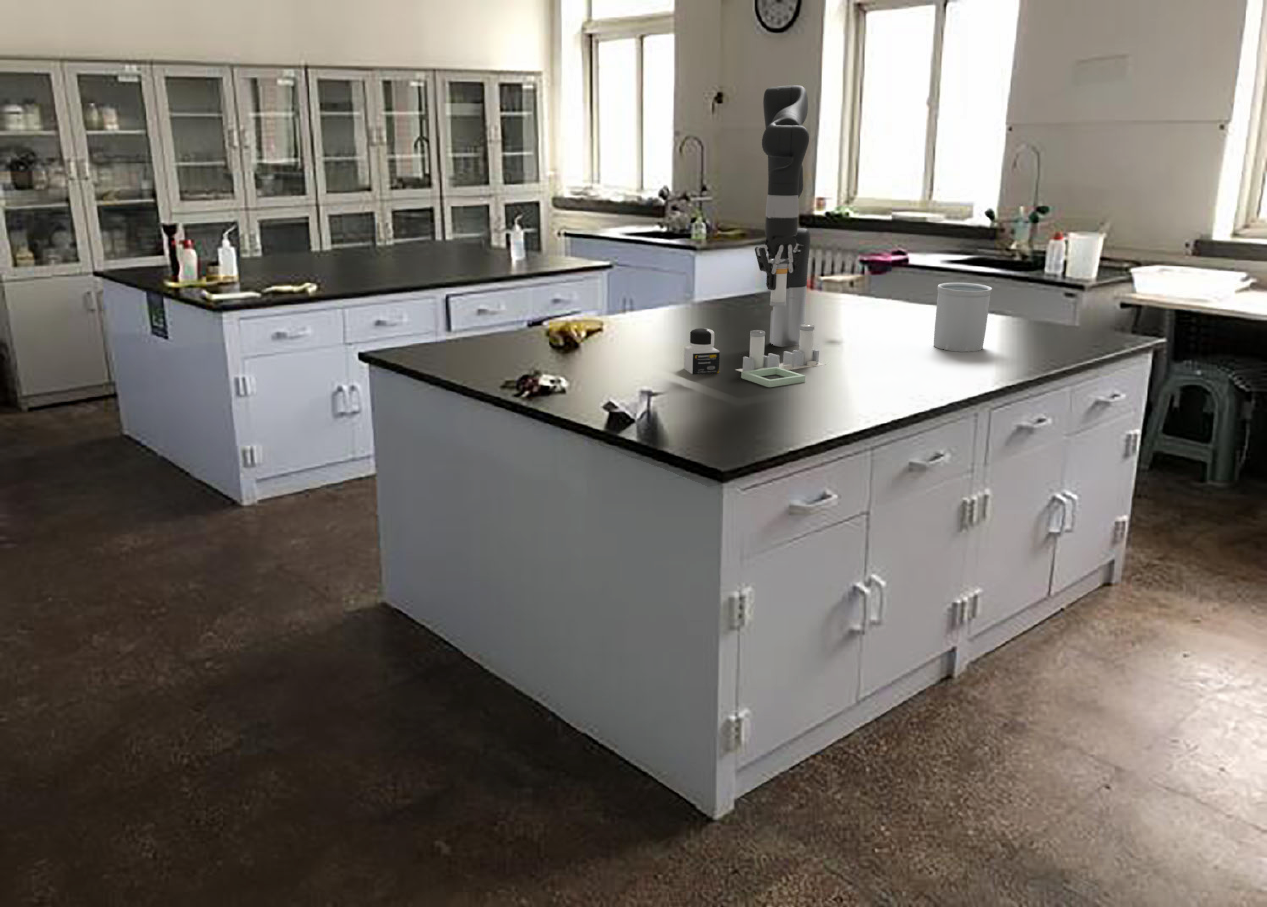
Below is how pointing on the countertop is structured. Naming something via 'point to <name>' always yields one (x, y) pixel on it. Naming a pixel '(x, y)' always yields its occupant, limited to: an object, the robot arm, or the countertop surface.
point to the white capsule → (806, 342)
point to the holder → (789, 361)
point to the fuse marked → (780, 286)
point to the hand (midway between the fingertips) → (778, 288)
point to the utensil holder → (961, 316)
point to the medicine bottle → (701, 353)
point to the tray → (789, 379)
